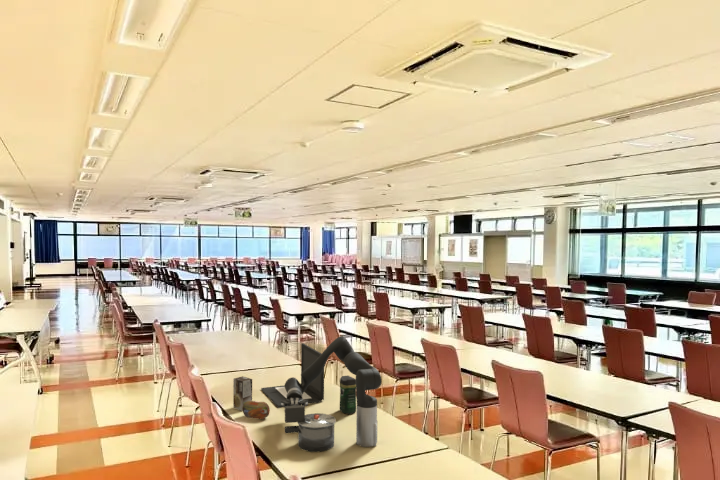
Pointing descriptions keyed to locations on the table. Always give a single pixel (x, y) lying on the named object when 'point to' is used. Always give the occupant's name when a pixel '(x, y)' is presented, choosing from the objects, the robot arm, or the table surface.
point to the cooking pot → (313, 437)
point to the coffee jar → (347, 394)
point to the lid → (307, 417)
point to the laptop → (312, 392)
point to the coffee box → (241, 391)
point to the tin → (256, 409)
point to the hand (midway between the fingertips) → (294, 409)
